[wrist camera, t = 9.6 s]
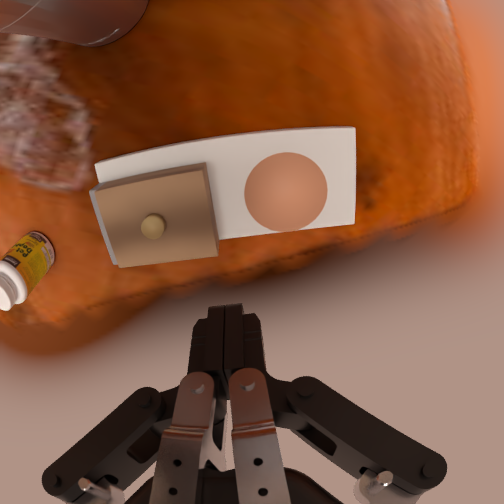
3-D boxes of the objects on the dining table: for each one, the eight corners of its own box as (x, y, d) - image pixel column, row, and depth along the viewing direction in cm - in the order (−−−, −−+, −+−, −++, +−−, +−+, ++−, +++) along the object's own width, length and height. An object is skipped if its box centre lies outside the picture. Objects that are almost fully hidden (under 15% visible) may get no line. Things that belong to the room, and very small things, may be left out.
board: (100, 160, 26) (83, 171, 22) (349, 126, 25) (365, 131, 22) (125, 246, 31) (113, 264, 27) (349, 218, 30) (362, 234, 27)
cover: (106, 181, 25) (89, 195, 22) (205, 162, 25) (200, 173, 22) (128, 252, 29) (116, 273, 26) (219, 240, 29) (217, 261, 26)
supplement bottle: (51, 229, 29) (4, 277, 20) (60, 268, 32) (22, 320, 23) (20, 229, 28) (-25, 272, 20) (30, 265, 31) (-8, 312, 22)
